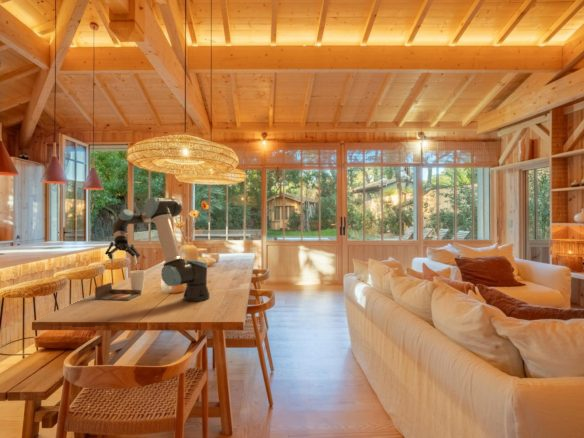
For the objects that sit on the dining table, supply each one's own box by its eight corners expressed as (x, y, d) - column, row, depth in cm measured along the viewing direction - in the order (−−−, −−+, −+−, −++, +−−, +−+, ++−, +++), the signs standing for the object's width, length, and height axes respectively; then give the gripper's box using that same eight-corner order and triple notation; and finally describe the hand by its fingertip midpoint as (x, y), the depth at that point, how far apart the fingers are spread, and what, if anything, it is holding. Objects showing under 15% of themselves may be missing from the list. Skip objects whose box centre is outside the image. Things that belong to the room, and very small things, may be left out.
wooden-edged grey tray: (141, 294, 206) (141, 283, 206) (128, 300, 192) (128, 288, 191) (109, 293, 207) (109, 282, 207) (95, 299, 193) (95, 287, 192)
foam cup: (140, 288, 221) (140, 269, 221) (148, 291, 216) (148, 271, 216) (126, 291, 214) (126, 271, 214) (134, 293, 208) (134, 273, 208)
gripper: (137, 245, 227) (142, 268, 214) (97, 240, 210) (100, 265, 197) (142, 237, 224) (147, 261, 211) (101, 232, 207) (104, 257, 194)
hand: (124, 263), depth 204 cm, fingers open, 13 cm apart
